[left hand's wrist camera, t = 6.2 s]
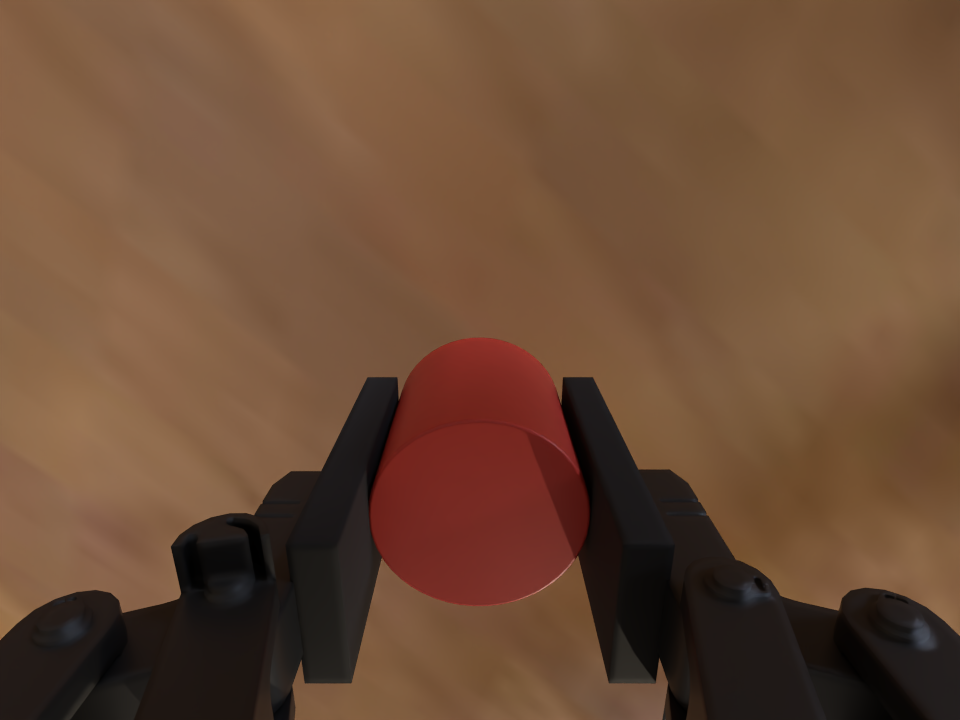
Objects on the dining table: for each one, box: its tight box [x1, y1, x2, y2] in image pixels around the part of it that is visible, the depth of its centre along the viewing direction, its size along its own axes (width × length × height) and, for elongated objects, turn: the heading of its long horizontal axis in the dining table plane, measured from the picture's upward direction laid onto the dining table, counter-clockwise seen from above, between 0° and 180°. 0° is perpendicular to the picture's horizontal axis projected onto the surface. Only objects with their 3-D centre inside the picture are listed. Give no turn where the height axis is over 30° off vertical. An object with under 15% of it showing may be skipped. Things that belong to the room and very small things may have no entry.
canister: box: [369, 338, 591, 606], centre depth 13 cm, size 4×4×5 cm
